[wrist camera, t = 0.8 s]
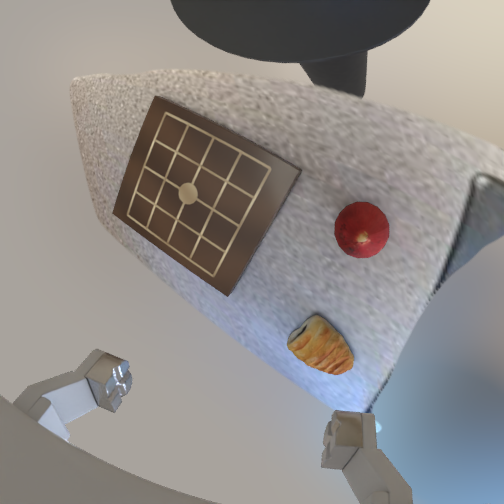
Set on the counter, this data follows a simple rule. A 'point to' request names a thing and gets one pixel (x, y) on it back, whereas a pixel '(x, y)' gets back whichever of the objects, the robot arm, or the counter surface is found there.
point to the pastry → (321, 346)
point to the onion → (361, 230)
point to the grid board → (202, 192)
